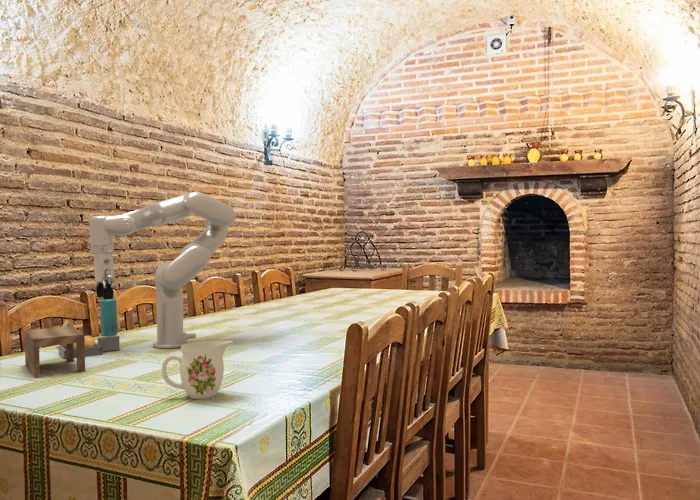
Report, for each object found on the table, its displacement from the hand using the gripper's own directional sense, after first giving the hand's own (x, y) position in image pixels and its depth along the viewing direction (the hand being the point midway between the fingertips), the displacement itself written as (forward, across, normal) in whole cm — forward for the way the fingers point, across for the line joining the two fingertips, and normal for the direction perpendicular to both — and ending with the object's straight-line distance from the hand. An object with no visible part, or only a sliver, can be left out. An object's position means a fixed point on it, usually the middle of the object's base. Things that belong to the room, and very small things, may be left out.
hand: (104, 298), depth 215 cm
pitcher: (+20, -76, -4) cm, 79 cm away
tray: (+19, +1, +6) cm, 20 cm away
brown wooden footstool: (+19, -18, +20) cm, 33 cm away
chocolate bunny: (+19, +21, +10) cm, 30 cm away
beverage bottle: (+20, +27, -7) cm, 34 cm away
